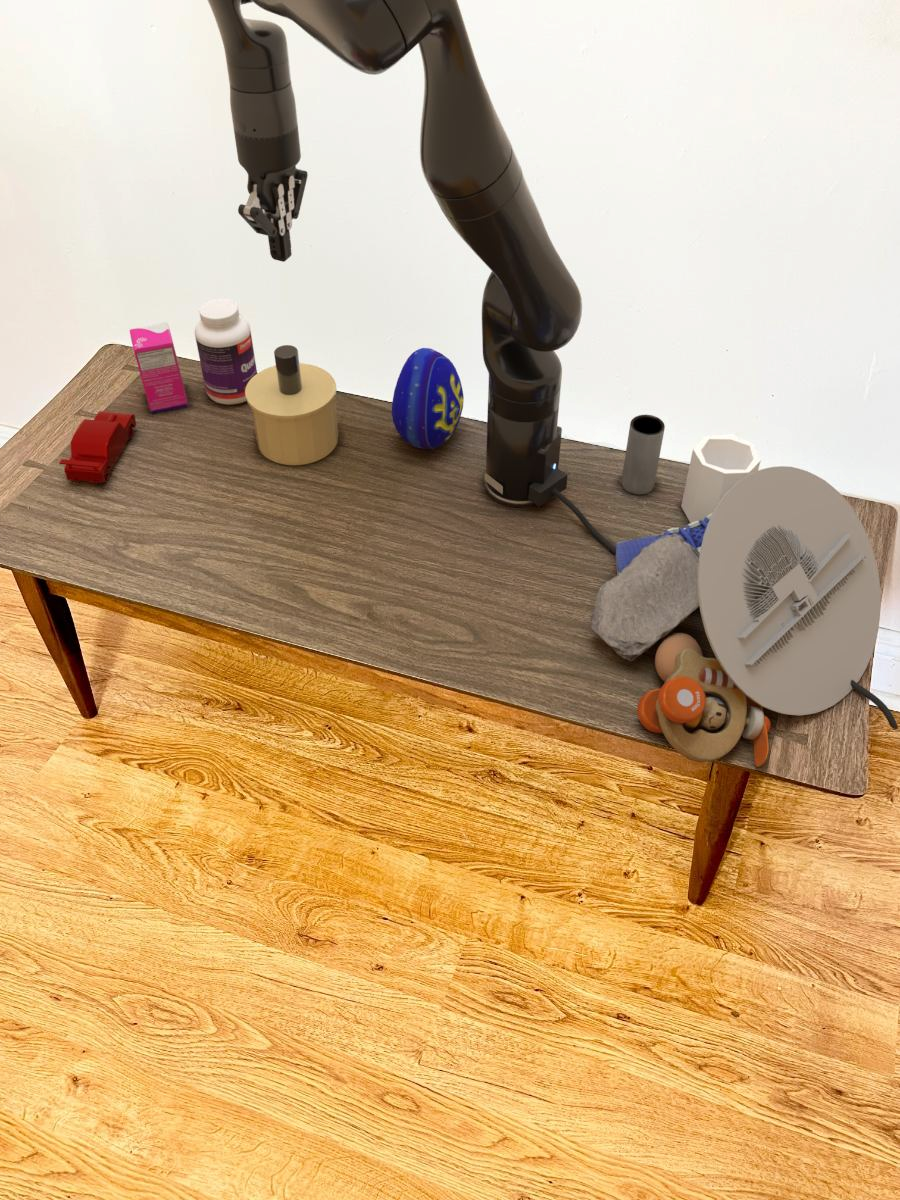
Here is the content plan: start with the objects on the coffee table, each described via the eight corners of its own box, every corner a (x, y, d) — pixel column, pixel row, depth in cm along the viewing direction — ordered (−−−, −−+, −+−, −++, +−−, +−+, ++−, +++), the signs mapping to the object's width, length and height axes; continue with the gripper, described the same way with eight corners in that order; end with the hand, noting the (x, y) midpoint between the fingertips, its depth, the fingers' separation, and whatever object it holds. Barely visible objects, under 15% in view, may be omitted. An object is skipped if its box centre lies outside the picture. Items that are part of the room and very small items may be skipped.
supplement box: (145, 393, 164) (128, 327, 156) (184, 386, 165) (169, 320, 157) (149, 414, 160) (132, 348, 152) (189, 407, 161) (175, 341, 153)
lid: (352, 382, 152) (349, 338, 147) (308, 432, 144) (302, 387, 139) (276, 361, 156) (270, 318, 150) (228, 408, 148) (220, 364, 143)
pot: (352, 428, 158) (348, 379, 152) (312, 474, 150) (306, 424, 144) (284, 408, 161) (277, 360, 155) (242, 452, 154) (233, 403, 148)
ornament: (435, 470, 151) (434, 381, 140) (380, 450, 154) (375, 361, 143) (473, 429, 158) (475, 340, 147) (419, 410, 161) (417, 322, 150)
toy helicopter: (649, 708, 111) (755, 790, 111) (747, 564, 118) (846, 641, 118) (622, 723, 119) (721, 800, 118) (715, 587, 126) (809, 659, 126)
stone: (577, 619, 129) (637, 676, 126) (573, 610, 125) (635, 669, 122) (667, 529, 129) (729, 584, 126) (665, 517, 125) (730, 574, 122)
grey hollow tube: (628, 497, 147) (638, 437, 139) (616, 477, 150) (625, 417, 142) (659, 491, 148) (670, 431, 140) (646, 471, 151) (656, 411, 143)
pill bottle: (255, 408, 161) (242, 324, 151) (202, 407, 161) (185, 323, 151) (263, 377, 167) (251, 294, 156) (211, 376, 167) (196, 293, 156)
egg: (647, 691, 123) (652, 647, 128) (694, 702, 123) (697, 657, 127) (659, 661, 119) (663, 616, 124) (707, 672, 119) (710, 627, 123)
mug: (742, 537, 141) (758, 479, 134) (677, 525, 143) (689, 467, 136) (750, 480, 149) (765, 423, 142) (688, 469, 151) (700, 412, 144)
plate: (773, 765, 117) (782, 766, 116) (656, 545, 111) (664, 543, 110) (910, 628, 129) (919, 627, 128) (811, 424, 124) (819, 422, 123)
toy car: (105, 490, 148) (96, 462, 144) (66, 486, 148) (57, 458, 145) (139, 429, 158) (132, 401, 154) (102, 425, 158) (95, 398, 154)
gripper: (262, 149, 121) (280, 288, 133) (321, 106, 129) (332, 241, 141) (206, 137, 123) (229, 275, 135) (267, 96, 131) (283, 229, 144)
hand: (281, 257), depth 138 cm, fingers closed
